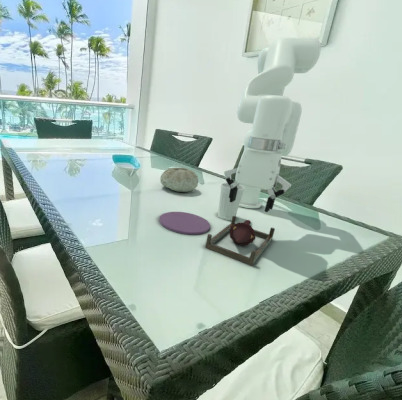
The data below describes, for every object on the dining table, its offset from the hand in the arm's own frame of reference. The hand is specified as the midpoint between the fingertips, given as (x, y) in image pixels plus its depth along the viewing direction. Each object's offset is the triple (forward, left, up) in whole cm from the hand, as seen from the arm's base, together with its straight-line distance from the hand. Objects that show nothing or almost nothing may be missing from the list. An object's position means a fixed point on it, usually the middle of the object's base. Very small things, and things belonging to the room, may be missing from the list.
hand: (249, 205), depth 78 cm
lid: (0, -19, -12) cm, 23 cm away
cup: (-18, -11, -12) cm, 25 cm away
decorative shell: (-34, -41, -12) cm, 55 cm away
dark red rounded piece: (0, 0, -12) cm, 12 cm away
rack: (0, 0, -12) cm, 12 cm away
